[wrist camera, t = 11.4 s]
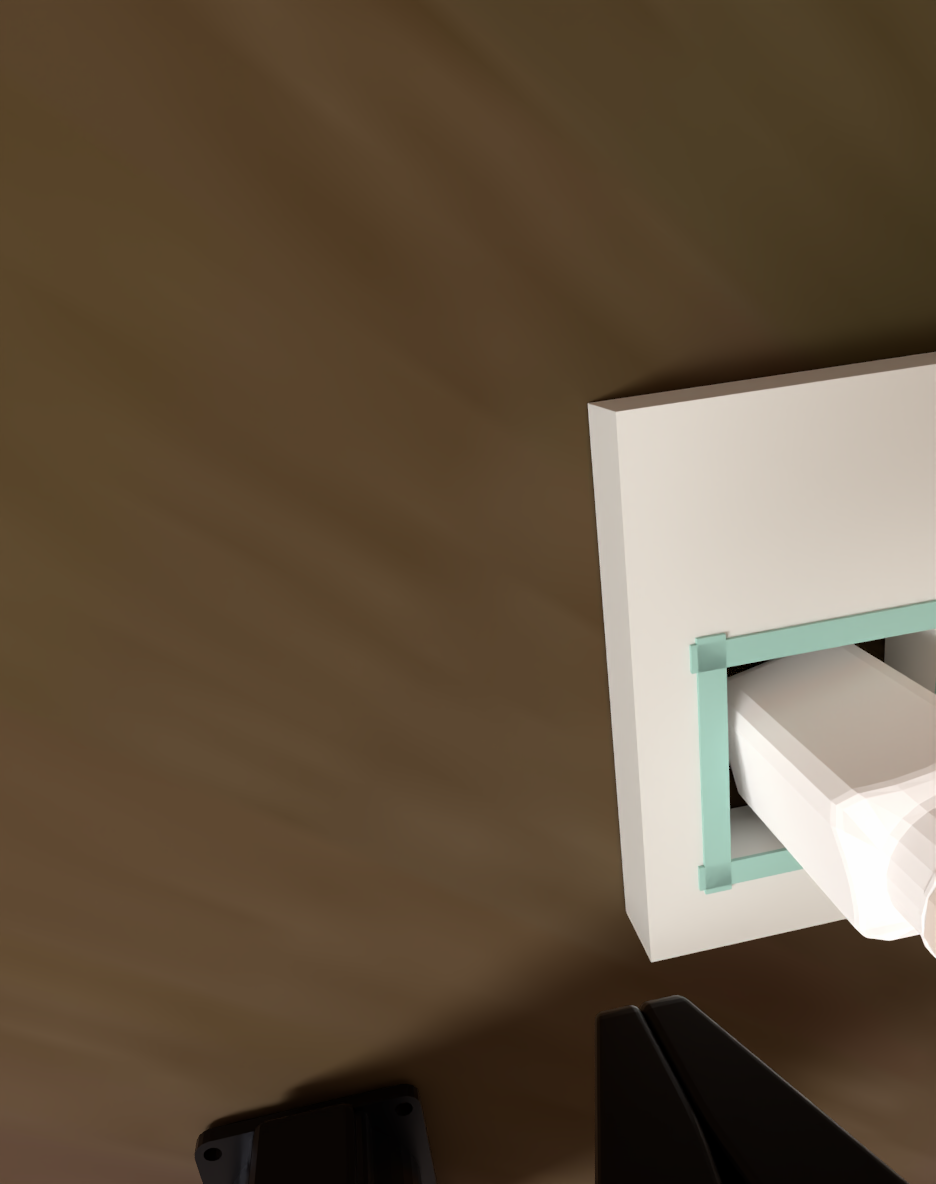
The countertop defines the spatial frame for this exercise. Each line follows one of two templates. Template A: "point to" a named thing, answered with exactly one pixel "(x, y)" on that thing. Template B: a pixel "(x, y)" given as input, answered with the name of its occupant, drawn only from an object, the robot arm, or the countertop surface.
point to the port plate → (748, 608)
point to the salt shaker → (844, 780)
